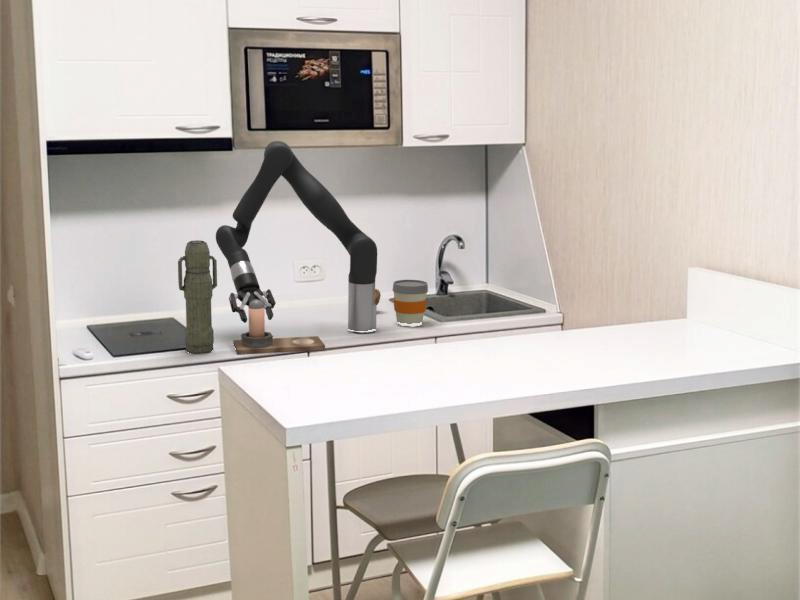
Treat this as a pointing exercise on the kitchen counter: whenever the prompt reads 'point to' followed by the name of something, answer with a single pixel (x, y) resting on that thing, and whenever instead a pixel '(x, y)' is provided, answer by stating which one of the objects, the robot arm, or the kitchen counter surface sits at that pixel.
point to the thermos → (198, 296)
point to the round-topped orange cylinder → (256, 319)
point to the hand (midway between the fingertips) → (258, 320)
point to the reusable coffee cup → (410, 300)
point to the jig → (276, 344)
